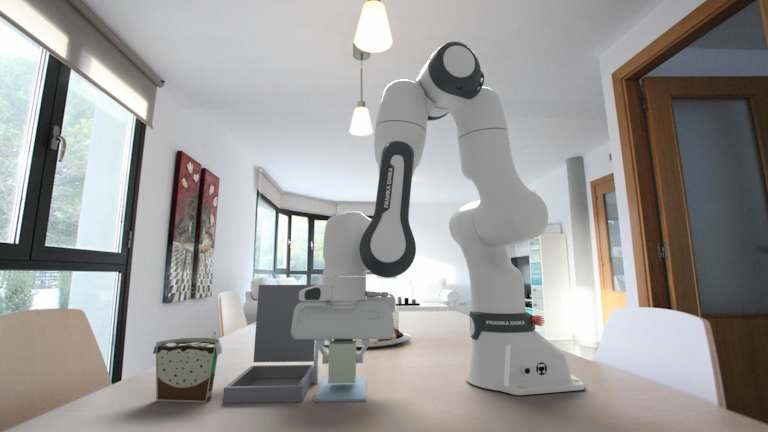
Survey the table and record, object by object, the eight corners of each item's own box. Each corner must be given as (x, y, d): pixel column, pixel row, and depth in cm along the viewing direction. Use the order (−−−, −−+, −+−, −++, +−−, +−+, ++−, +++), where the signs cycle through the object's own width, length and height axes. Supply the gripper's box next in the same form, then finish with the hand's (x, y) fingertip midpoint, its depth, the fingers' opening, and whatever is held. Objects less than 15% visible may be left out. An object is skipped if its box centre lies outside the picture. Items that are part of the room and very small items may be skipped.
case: (320, 375, 84) (322, 314, 86) (308, 401, 67) (311, 324, 69) (252, 376, 84) (255, 314, 86) (222, 403, 66) (227, 324, 68)
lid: (313, 361, 84) (314, 360, 85) (316, 284, 88) (317, 285, 89) (253, 362, 83) (255, 361, 84) (258, 284, 87) (260, 285, 88)
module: (355, 373, 78) (356, 336, 79) (355, 383, 71) (355, 342, 72) (331, 374, 78) (332, 337, 79) (328, 383, 71) (329, 342, 72)
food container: (231, 392, 72) (235, 337, 74) (214, 402, 66) (218, 343, 68) (170, 390, 74) (175, 336, 75) (148, 400, 68) (153, 342, 69)
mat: (365, 378, 82) (365, 376, 82) (366, 400, 67) (366, 398, 67) (323, 378, 82) (323, 376, 82) (314, 401, 67) (314, 399, 67)
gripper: (394, 290, 81) (394, 358, 79) (296, 290, 80) (294, 359, 78) (396, 291, 75) (397, 365, 72) (290, 291, 73) (288, 367, 71)
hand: (342, 362), depth 75 cm, fingers closed on module, 5 cm apart
